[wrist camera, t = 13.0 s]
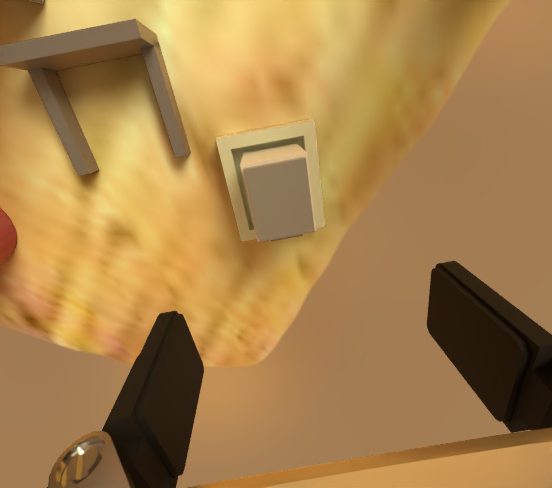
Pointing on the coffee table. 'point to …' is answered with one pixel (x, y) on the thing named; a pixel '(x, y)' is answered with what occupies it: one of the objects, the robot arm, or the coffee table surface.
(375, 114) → the coffee table surface
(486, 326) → the robot arm
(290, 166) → the capped cream block
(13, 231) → the plant pot
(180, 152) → the bay
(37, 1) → the hard drive box
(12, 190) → the coffee table surface
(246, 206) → the tray
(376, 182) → the coffee table surface
